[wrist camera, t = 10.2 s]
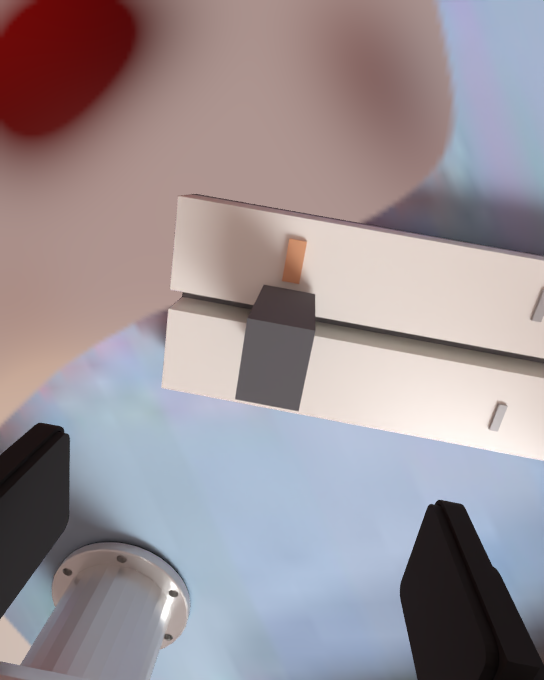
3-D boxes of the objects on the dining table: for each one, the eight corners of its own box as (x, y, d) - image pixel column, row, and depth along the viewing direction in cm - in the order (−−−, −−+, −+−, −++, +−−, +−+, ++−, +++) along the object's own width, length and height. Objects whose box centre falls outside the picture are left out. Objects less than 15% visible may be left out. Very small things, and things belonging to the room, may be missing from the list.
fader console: (533, 430, 32) (566, 467, 28) (179, 364, 32) (160, 390, 28) (604, 266, 27) (654, 280, 23) (195, 193, 28) (176, 195, 24)
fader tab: (303, 340, 29) (298, 411, 20) (259, 332, 30) (234, 399, 20) (314, 282, 28) (315, 330, 19) (268, 274, 28) (247, 318, 19)
